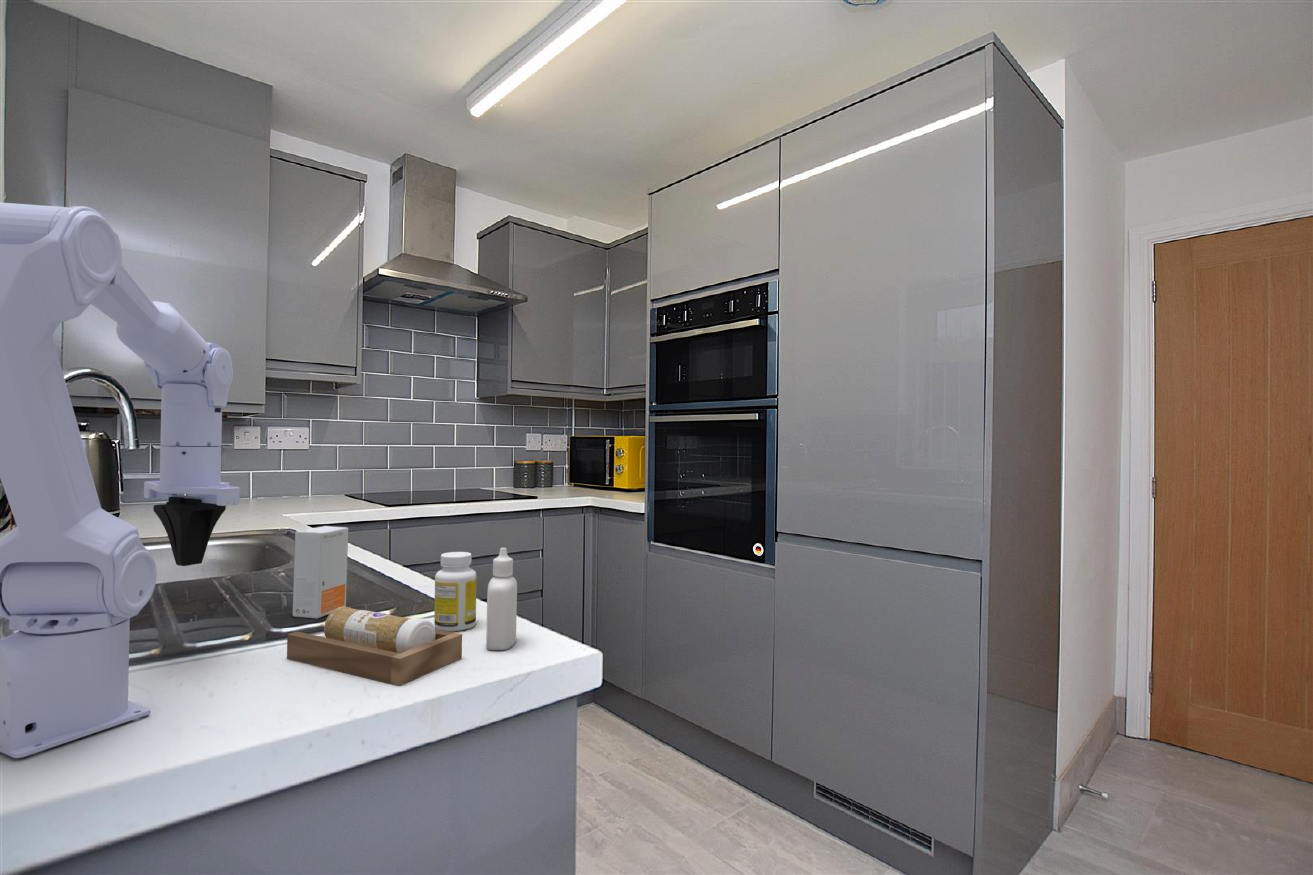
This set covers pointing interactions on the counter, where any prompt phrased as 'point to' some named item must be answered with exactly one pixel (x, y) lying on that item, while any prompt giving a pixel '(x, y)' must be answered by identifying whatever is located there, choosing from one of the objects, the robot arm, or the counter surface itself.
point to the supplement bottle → (455, 593)
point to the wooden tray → (375, 656)
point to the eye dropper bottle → (501, 604)
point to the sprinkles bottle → (378, 629)
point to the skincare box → (320, 571)
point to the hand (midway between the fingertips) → (189, 564)
